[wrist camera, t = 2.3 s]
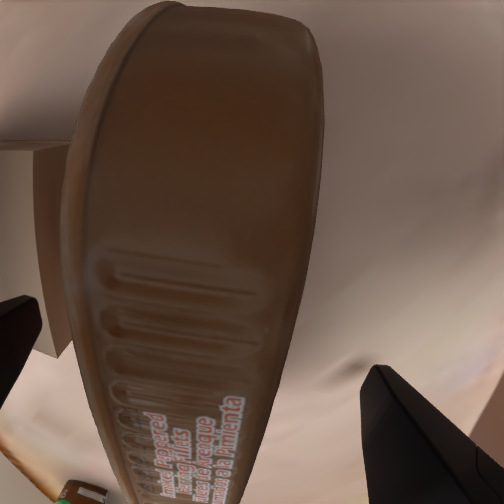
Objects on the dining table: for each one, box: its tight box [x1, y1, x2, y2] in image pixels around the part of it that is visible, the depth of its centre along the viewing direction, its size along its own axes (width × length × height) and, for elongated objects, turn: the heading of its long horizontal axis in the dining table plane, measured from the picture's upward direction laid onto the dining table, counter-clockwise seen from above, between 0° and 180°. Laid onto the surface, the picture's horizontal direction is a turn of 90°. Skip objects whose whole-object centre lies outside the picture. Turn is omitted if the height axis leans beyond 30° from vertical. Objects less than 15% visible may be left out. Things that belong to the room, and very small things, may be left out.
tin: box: [60, 1, 324, 504], centre depth 8 cm, size 15×3×8 cm, turn 171°
